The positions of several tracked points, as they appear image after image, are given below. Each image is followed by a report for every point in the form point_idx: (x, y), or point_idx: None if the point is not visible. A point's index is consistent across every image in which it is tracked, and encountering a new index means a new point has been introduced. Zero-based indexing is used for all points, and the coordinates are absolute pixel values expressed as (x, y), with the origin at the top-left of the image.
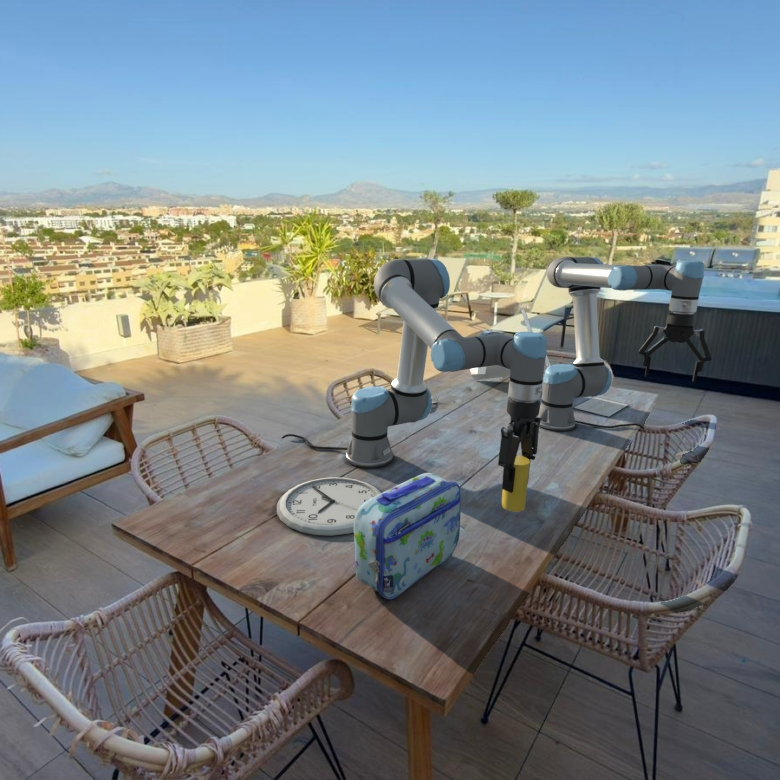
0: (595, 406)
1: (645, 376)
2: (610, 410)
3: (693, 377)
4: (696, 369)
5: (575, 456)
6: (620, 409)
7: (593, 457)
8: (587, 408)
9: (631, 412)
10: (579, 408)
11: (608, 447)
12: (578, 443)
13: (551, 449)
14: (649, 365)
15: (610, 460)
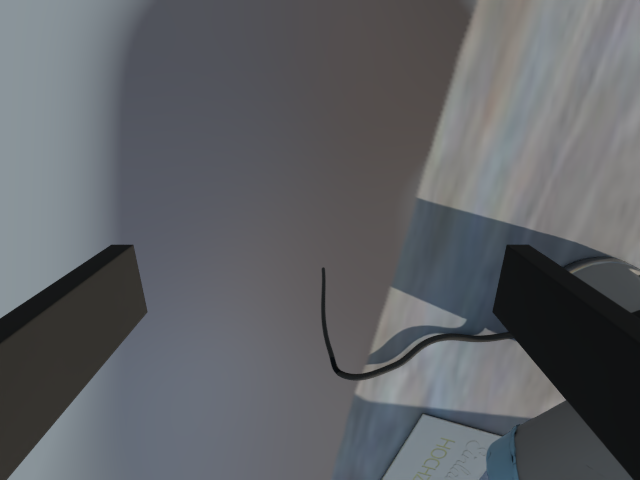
0: (451, 465)
1: (529, 247)
2: (415, 453)
3: (119, 292)
4: (31, 313)
5: (560, 71)
6: (389, 468)
7: (501, 90)
8: (474, 445)
9: (362, 462)
10: (495, 438)
11: (445, 196)
12: (533, 189)
13: (631, 97)
14: (593, 305)
15: (450, 89)
